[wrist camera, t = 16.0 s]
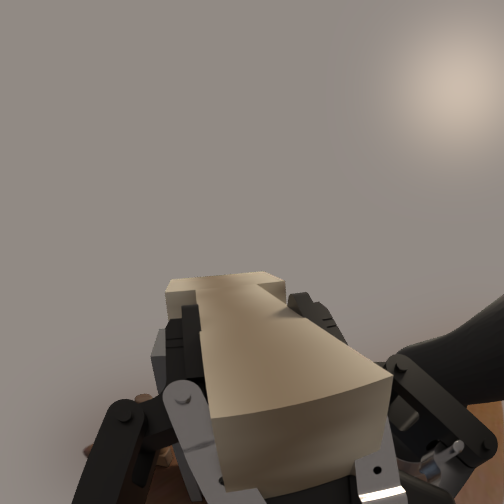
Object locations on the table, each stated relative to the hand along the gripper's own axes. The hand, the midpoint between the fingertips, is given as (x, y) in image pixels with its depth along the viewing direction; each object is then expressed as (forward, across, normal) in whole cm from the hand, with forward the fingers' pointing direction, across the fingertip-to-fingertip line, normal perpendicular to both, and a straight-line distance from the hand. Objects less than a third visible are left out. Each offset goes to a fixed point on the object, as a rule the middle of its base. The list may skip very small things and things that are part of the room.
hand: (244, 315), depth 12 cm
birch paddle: (+1, 0, +4) cm, 4 cm away
